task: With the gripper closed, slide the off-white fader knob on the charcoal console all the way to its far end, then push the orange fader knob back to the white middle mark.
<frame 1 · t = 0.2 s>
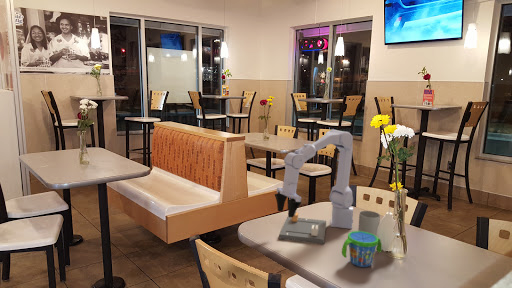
hand: (285, 213, 149), 10 cm above the table, tool pointing down, fingers open, 7 cm apart
cup: (367, 237, 153), on the table
fader a: (314, 230, 149), point 4 cm above the table, slide at 0.0 cm
snack cup: (360, 263, 130), on the table
sauce bottle: (386, 251, 140), on the table
console: (304, 231, 157), on the table
fader b: (294, 216, 164), point 4 cm above the table, slide at 10.0 cm
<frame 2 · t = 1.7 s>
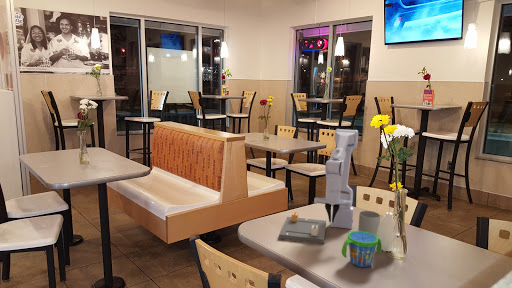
hand: (331, 221, 147), 8 cm above the table, tool pointing down, fingers closed
nothing on the table moved.
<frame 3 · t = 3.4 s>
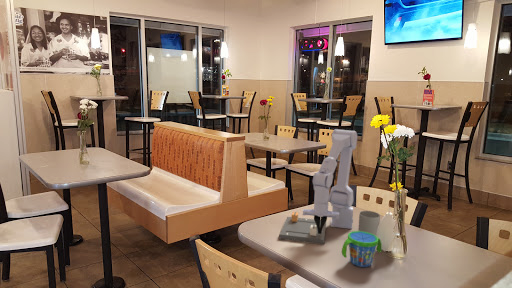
hand: (319, 232, 148), 3 cm above the table, tool pointing down, fingers closed
fader a: (313, 230, 149), point 4 cm above the table, slide at 0.5 cm, touching gripper
everything else where it was.
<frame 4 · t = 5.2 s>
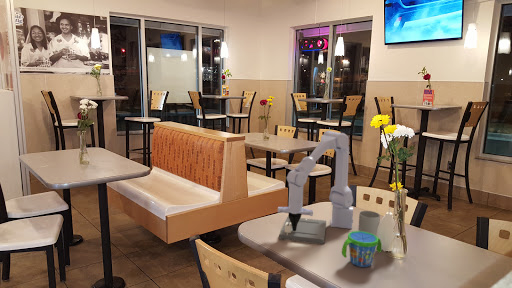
hand: (294, 230, 151), 3 cm above the table, tool pointing down, fingers closed
fader a: (288, 227, 151), point 4 cm above the table, slide at 11.0 cm, touching gripper
everything else where it was.
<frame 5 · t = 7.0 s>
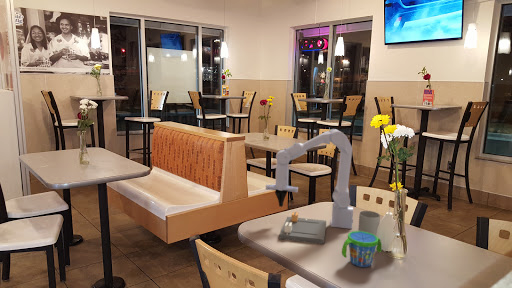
hand: (281, 205, 164), 8 cm above the table, tool pointing down, fingers closed
fader a: (288, 227, 151), point 4 cm above the table, slide at 11.0 cm
everything else where it was.
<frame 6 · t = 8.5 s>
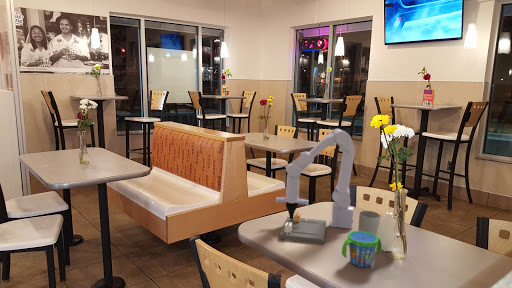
hand: (291, 218, 164), 3 cm above the table, tool pointing down, fingers closed
fader b: (297, 216, 163), point 4 cm above the table, slide at 8.9 cm, touching gripper
everything else where it was.
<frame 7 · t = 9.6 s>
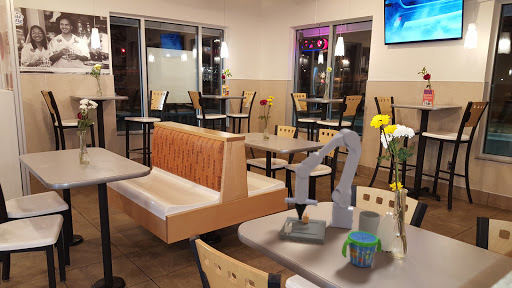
hand: (300, 219, 163), 3 cm above the table, tool pointing down, fingers closed
fader b: (306, 217, 162), point 4 cm above the table, slide at 4.9 cm, touching gripper
everything else where it was.
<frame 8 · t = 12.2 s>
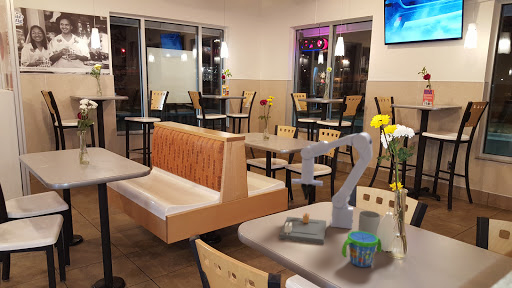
hand: (306, 199, 171), 9 cm above the table, tool pointing down, fingers closed
fader b: (306, 217, 162), point 4 cm above the table, slide at 4.9 cm
everything else where it was.
at the end: fader a slide at 11.0 cm; fader b slide at 4.9 cm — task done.
